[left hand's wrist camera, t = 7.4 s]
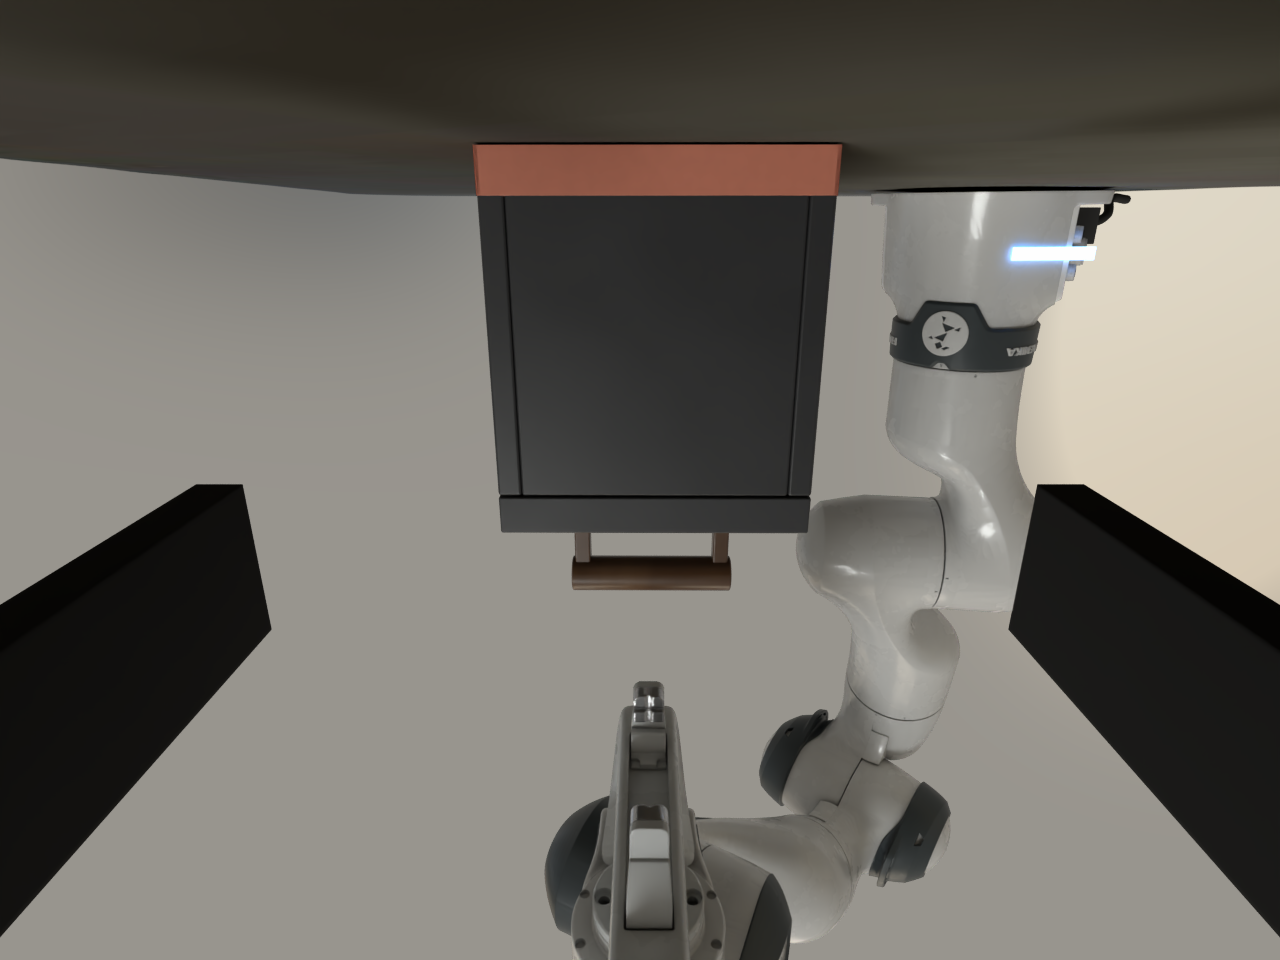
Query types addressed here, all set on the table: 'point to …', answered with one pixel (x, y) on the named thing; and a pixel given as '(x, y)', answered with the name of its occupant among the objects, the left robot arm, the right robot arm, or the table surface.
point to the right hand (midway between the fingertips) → (649, 744)
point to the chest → (656, 314)
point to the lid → (653, 518)
